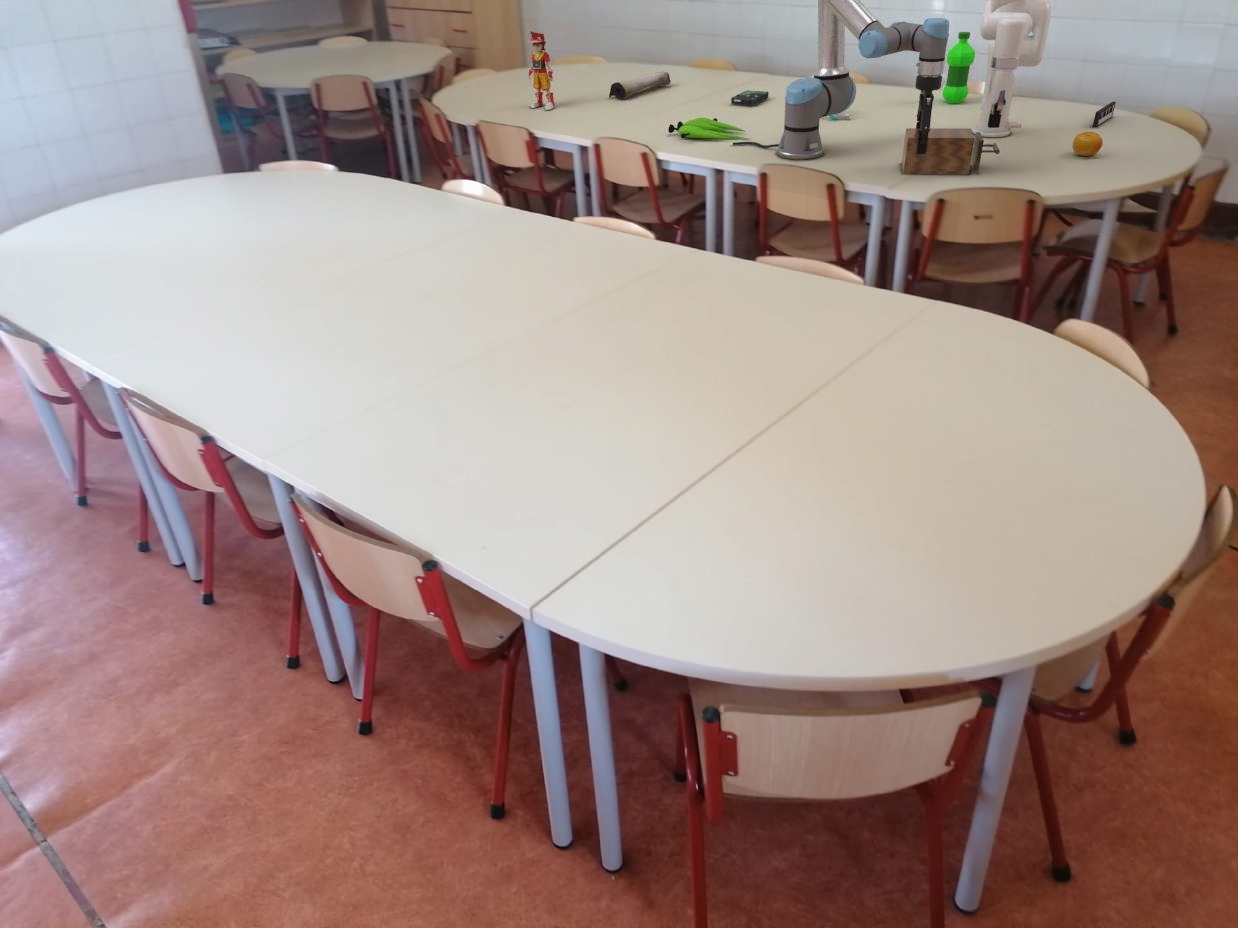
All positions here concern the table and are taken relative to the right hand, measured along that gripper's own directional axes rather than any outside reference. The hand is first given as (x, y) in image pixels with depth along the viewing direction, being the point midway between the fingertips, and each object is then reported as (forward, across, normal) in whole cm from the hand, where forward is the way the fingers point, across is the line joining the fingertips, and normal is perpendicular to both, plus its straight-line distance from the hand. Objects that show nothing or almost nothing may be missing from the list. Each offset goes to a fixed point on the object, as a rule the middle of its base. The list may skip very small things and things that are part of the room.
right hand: (993, 127), depth 277 cm
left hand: (+7, 0, -21) cm, 22 cm away
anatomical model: (+13, -67, -48) cm, 84 cm away
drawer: (+12, 0, -9) cm, 15 cm away
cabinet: (+13, 0, -16) cm, 20 cm away
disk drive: (+12, -90, -82) cm, 122 cm away
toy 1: (+13, -83, -169) cm, 189 cm away
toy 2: (+13, -39, -92) cm, 101 cm away
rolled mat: (+12, -109, -131) cm, 171 cm away
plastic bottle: (+12, -88, -1) cm, 89 cm away
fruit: (+13, -16, +33) cm, 39 cm away
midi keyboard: (+12, -58, +47) cm, 75 cm away
